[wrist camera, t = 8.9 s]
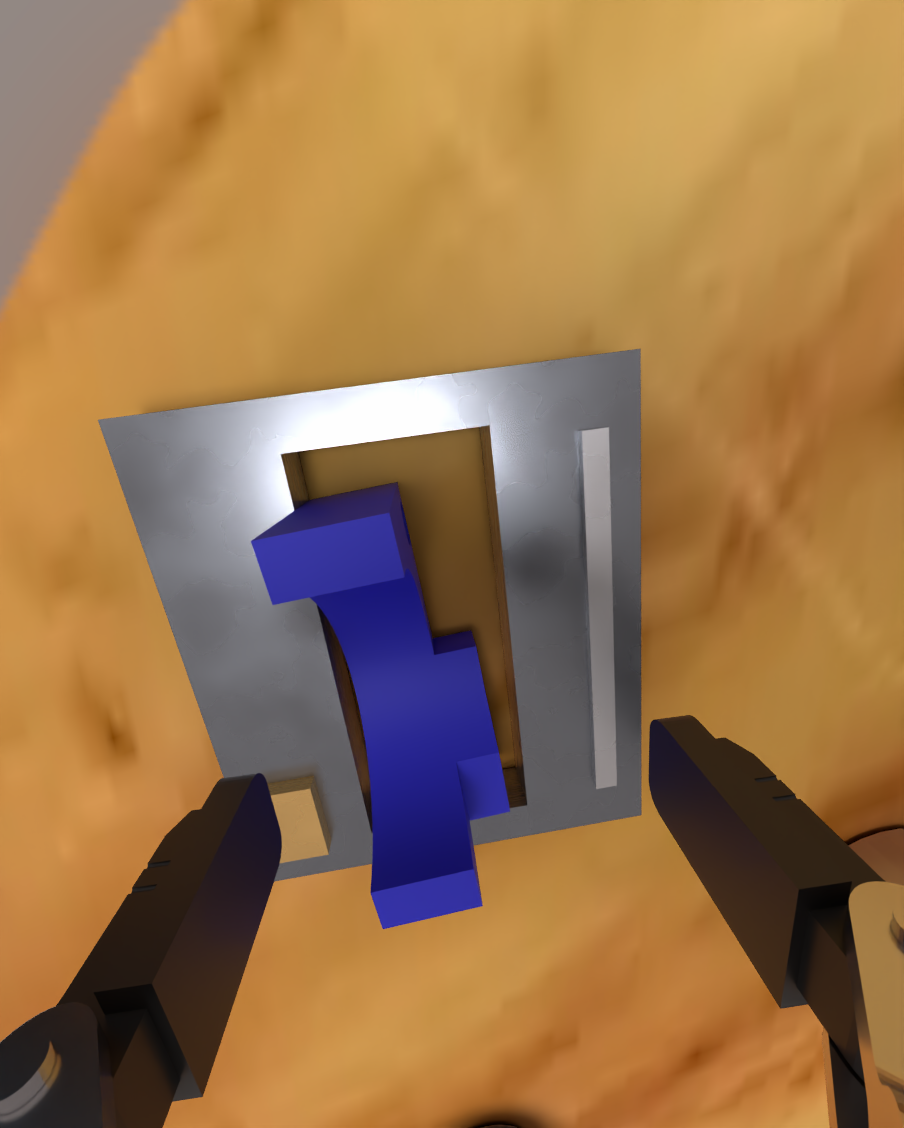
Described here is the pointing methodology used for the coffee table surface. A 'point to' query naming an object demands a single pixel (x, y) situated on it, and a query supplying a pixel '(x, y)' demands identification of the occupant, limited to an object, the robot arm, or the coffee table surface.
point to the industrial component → (500, 1126)
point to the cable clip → (398, 696)
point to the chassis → (307, 639)
